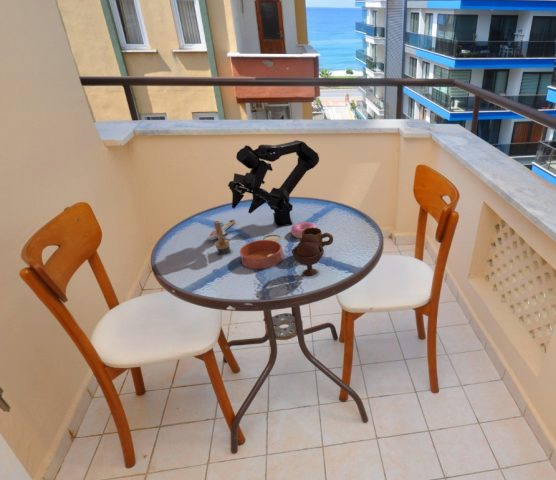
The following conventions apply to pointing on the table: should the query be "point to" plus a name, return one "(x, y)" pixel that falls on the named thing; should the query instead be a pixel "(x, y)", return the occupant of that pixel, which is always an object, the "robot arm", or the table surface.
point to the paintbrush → (214, 234)
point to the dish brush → (221, 240)
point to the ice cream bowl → (308, 253)
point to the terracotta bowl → (261, 254)
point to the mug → (319, 236)
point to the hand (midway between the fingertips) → (241, 210)
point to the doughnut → (301, 228)
